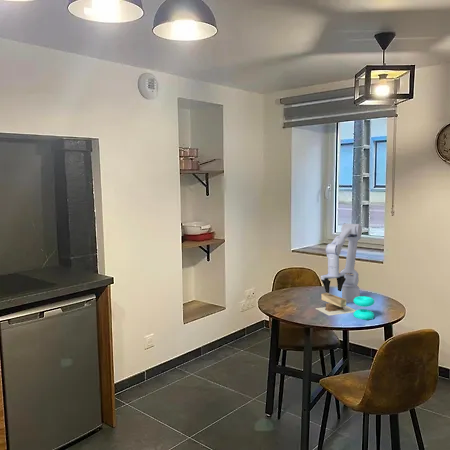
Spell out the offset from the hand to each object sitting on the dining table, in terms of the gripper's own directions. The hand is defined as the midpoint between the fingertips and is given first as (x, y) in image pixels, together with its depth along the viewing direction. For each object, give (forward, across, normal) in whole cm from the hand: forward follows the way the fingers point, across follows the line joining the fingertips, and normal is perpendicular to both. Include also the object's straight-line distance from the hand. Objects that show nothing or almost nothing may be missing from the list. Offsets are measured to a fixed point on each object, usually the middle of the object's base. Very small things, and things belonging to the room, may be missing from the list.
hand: (333, 291), depth 246 cm
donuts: (+10, -5, +18) cm, 22 cm away
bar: (+6, +1, +1) cm, 6 cm away
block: (+9, +1, +2) cm, 9 cm away
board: (+10, 0, +3) cm, 10 cm away
